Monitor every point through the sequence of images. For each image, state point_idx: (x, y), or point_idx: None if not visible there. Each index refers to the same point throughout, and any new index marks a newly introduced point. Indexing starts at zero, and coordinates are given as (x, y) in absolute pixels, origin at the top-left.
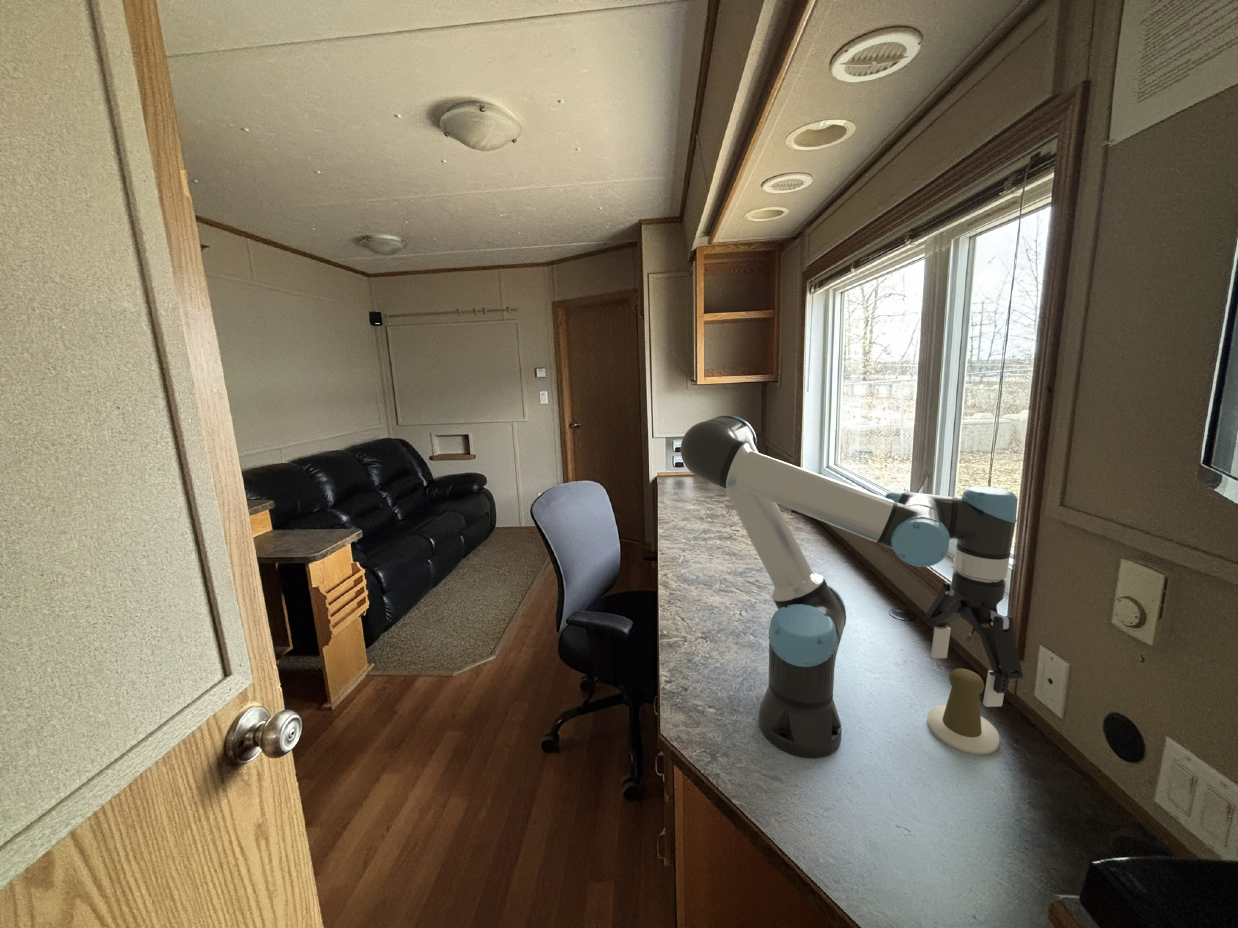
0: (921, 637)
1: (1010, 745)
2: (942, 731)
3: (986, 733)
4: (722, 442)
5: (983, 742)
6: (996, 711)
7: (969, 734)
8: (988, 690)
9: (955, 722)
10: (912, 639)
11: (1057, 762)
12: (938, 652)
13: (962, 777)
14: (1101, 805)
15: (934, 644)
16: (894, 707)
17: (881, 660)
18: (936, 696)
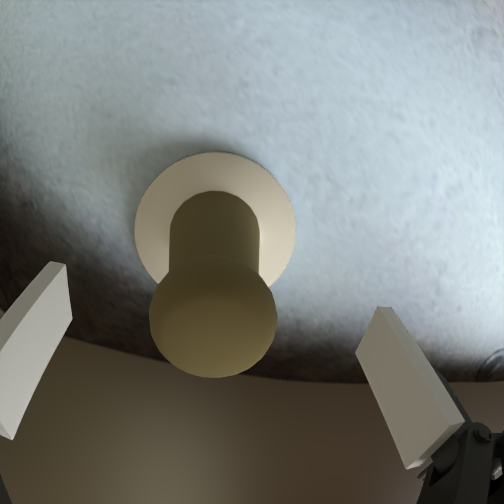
0: (452, 362)
1: None
2: (205, 164)
3: None
4: None
5: (150, 237)
6: None
7: (172, 221)
8: (14, 305)
9: (195, 205)
10: (459, 346)
11: (112, 334)
12: (381, 340)
13: (92, 115)
14: None
15: (410, 351)
16: (340, 131)
17: (463, 244)
18: (335, 270)
